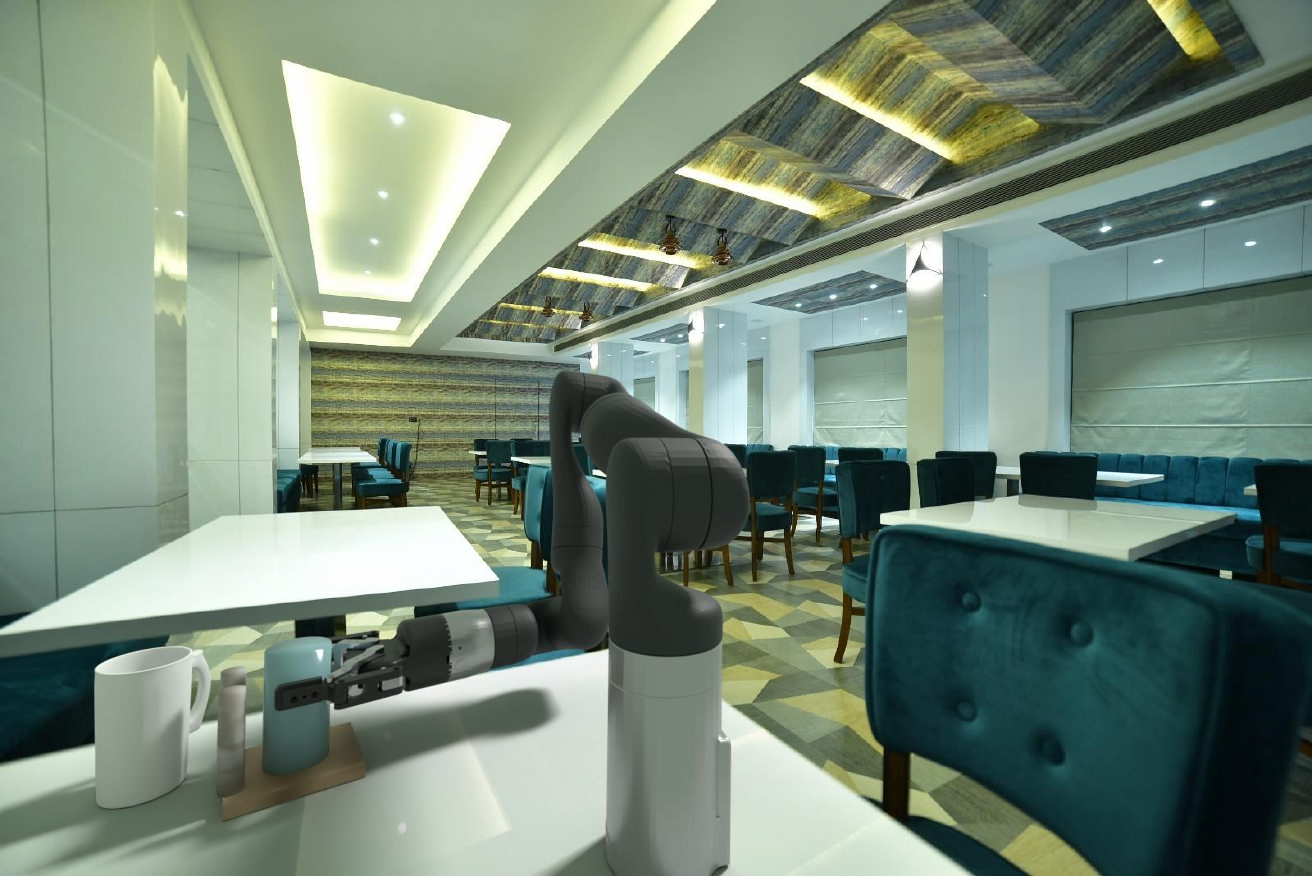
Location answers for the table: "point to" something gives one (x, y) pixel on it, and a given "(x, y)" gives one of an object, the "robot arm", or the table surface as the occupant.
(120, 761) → the mug
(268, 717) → the pale blue cylinder
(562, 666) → the table surface
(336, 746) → the board
